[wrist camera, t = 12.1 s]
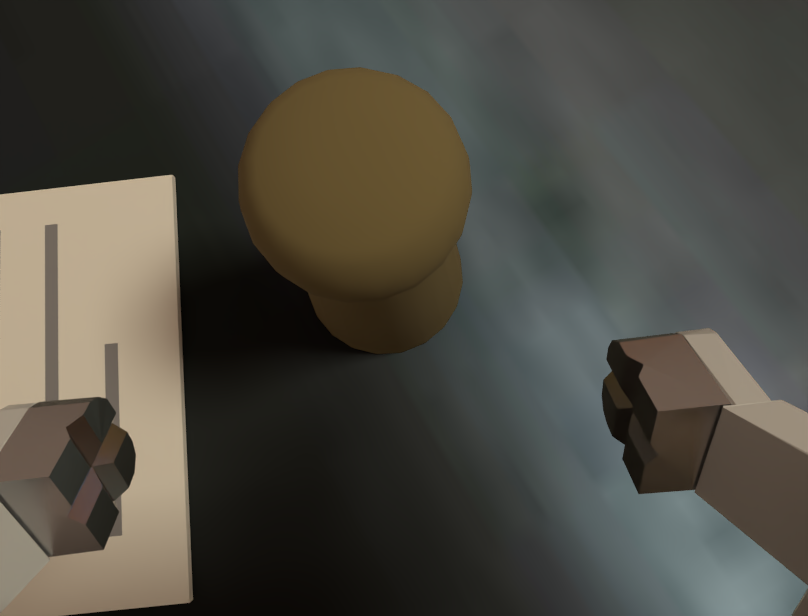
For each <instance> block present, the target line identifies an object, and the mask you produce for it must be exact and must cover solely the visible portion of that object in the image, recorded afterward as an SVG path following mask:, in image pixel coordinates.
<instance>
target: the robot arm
mask: <svg viewBox="0 0 808 616" xmlns="http://www.w3.org/2000/svg"><path fill="white" fill-rule="evenodd" d="M607 361H608V363H609V365H610V367H611V369H612V372H611V373H610V374H609V375H608V376H607V377H606V378H605V379H604V380H603V389H602V401H603V411H604V415H605V418H606V422H607V425H608V427H609V429H610V432H611V434H612V436H613V437H614V438H616V439H617V440H619V441H620V442H622V443H623V444H625V448H624V454H623V461H624V463H625V465H626V467H627V470H628V472H629V474H630V476H631V478H632V480H633V483H634V485H635V487H636V489H637V491H638V494H645V493H658V492H671V491H684V490H695V493H696V494H697V495H699V496H700V497H701V498H702V499H703V500H705V501H706V502H707V503H708V504H710V505H711V506H712V507H713V508H714V509H716V510H717V511H718V512H719V513H720V514H722V515H723V516H724V517H725V518H727V519H728V520H729V521H730V522H731V523H733V524H734V525H735V526H736V527H738V528H739V529H740V530H741V531H742V532H744V533H745V534H746V535H747V536H748V537H750V538H751V539H752V540H753V541H755V542H756V543H757V544H758V545H759V546H761V547H762V548H763V549H764V550H766V551H767V552H768V553H769V554H770V555H772V556H773V557H774V558H775V559H777V560H778V561H779V562H780V563H781V564H783V565H784V566H785V567H786V568H787V569H789V570H790V571H791V572H792V573H794V574H795V575H796V576H797V577H798V578H800V579H801V580H802V581H803V582H805V583H806V584H807V585H808V413H807V412H805V411H803V410H801V409H799V408H797V407H795V406H793V405H791V404H789V403H787V402H785V401H783V400H777V401H771V400H770V399H769V397H768V396H767V395H766V394H765V392H764V391H763V390H762V389H761V387H760V386H759V385H758V384H757V382H756V381H755V380H754V379H753V377H752V376H751V375H750V374H749V373H748V371H747V370H746V369H745V368H744V366H743V365H742V364H741V363H740V361H739V360H738V359H737V358H736V356H735V355H734V354H733V353H732V351H731V350H730V349H729V348H728V346H727V345H726V344H725V343H724V341H723V340H722V339H721V338H720V336H719V335H718V334H717V333H716V332H715V331H713V330H711V329H709V328H706V329H698V330H690V331H683V332H676V333H670V334H662V335H653V336H645V337H636V338H627V339H619V340H612V342H611V343H610V345H609V347H608V353H607ZM115 415H116V412H115V410H114V408H113V407H112V405H111V404H110V402H109V401H108V399H106V398H101V397H90V398H78V399H66V400H55V401H43V402H38V403H28V404H15V405H8V406H6V407H4V408H2V409H0V613H1V612H2V611H3V610H4V609H5V608H6V607H7V606H8V605H9V604H10V602H11V601H12V600H13V599H14V598H15V597H16V596H17V595H18V594H19V593H20V592H21V591H22V590H23V589H24V588H25V586H26V585H27V584H28V583H29V582H30V581H31V580H32V579H33V578H34V577H35V576H36V575H37V574H38V573H39V571H40V570H41V569H42V568H43V567H44V566H45V565H46V564H47V563H48V562H49V561H50V558H49V557H54V556H61V555H69V554H76V553H84V552H91V551H99V550H104V548H105V546H106V543H107V541H108V538H109V536H110V533H111V531H112V529H113V526H114V524H115V521H116V519H117V516H118V514H119V510H118V508H117V505H116V503H115V500H116V499H117V498H118V497H119V496H121V495H122V494H123V493H124V492H125V491H126V490H127V489H128V488H129V486H130V484H131V481H132V478H133V476H134V473H135V461H136V453H135V449H134V445H133V441H132V439H131V438H130V436H129V434H128V432H127V431H125V430H124V429H122V428H120V427H118V426H117V425H115V424H113V420H114V418H115ZM792 616H808V589H807V590H806V592H805V594H804V595H803V597H802V599H801V600H800V602H799V603H798V605H797V607H796V608H795V610H794V612H793V614H792Z"/></svg>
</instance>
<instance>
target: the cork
mask: <svg viewBox="0 0 808 616" xmlns="http://www.w3.org/2000/svg"><path fill="white" fill-rule="evenodd" d="M238 180H239V203H240V208H241V212H242V214H243V217H244V220H245V223H246V225H247V228H248V231H249V233H250V236H251V239H252V242H253V244H254V245H255V246H256V247H257V249H258V250H259V251H260V252H261V254H262V255H263V256H264V257H265V258H266V260H267V261H268V262H269V263H270V265H271V266H272V267H273V268H274V269H275V271H277V272H278V273H279V274H280V275H282V276H283V277H284V278H286V279H288V280H289V281H291V282H293V283H294V284H296V285H297V286H299V287H301V288H302V289H304V290H305V291H307V292H308V294H309V297H310V299H311V302H312V305H313V307H314V310H315V313H316V315H317V317H318V318H319V319H320V321H321V322H322V323H323V324H324V326H325V327H326V328H327V329H328V330H329V332H330V333H331V334H332V335H333V336H335V337H336V338H338V339H339V340H341V341H342V342H344V343H346V344H347V345H349V346H350V347H352V348H354V349H358V350H362V351H367V352H371V353H375V354H386V353H400V352H404V351H406V350H409V349H411V348H414V347H416V346H419V345H421V344H424V343H426V342H427V341H428V340H429V339H430V338H432V337H433V336H434V335H435V334H436V333H438V332H439V331H440V330H441V329H442V328H443V327H444V326H445V325H446V323H447V321H448V320H449V318H450V317H451V315H452V313H453V312H454V310H455V309H456V307H457V304H458V300H459V296H460V291H461V287H462V283H463V281H462V270H461V259H460V255H459V252H458V248H457V245H456V243H457V241H458V240H459V238H460V237H461V235H462V232H463V228H464V224H465V220H466V216H467V212H468V208H469V203H470V199H471V195H472V186H471V175H470V164H469V157H468V154H467V152H466V150H465V147H464V145H463V143H462V141H461V139H460V136H459V134H458V132H457V130H456V127H455V125H454V123H453V121H452V119H451V117H450V116H449V115H448V114H447V112H446V111H445V110H444V109H443V108H442V107H441V106H440V105H439V104H438V103H437V102H436V101H435V100H434V98H433V97H432V96H431V95H430V94H429V93H428V92H427V91H425V90H423V89H421V88H419V87H418V86H416V85H414V84H412V83H410V82H409V81H407V80H405V79H403V78H401V77H400V76H398V75H394V74H389V73H384V72H380V71H375V70H370V69H365V68H360V67H359V68H347V69H335V70H327V71H324V72H321V73H319V74H316V75H314V76H311V77H309V78H306V79H303V80H301V81H298V82H296V83H295V84H294V85H293V86H291V87H290V88H289V89H287V90H286V91H285V92H284V93H282V94H281V95H280V96H278V97H277V98H276V99H275V100H273V101H272V102H271V103H270V104H269V105H268V106H267V108H266V109H265V111H264V112H263V113H262V115H261V116H260V118H259V119H258V121H257V122H256V123H255V125H254V126H253V128H252V129H251V131H250V132H249V133H248V136H247V140H246V143H245V146H244V149H243V153H242V156H241V159H240V162H239V165H238Z"/></svg>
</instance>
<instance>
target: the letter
mask: <svg viewBox="0 0 808 616" xmlns="http://www.w3.org/2000/svg"><path fill="white" fill-rule="evenodd" d="M90 397H101V398H106V399H108V401H109V402H110V404H111V405H112V407H113V408H114V410H115V412H116V415H115V418H114V420H113V424H115V425H117V426H118V427H120V428H122V429H124V430H125V431H127V432H128V434H129V436H130V438H131V439H132V441H133V445H134V449H135V453H136V461H135V473H134V476H133V478H132V481H131V484H130V486H129V488H128V489H127V490H126V491H125V492H124V493H123V494H122V495H121V496H119V497H118V498H117V499H116V500H115V503H116V505H117V508H118V510H119V514H118V516H117V519H116V521H115V524H114V526H113V529H112V531H111V533H110V536H109V538H108V541H107V543H106V546H105V548H104V550H99V551H91V552H84V553H76V554H69V555H61V556H54V557H49V558H50V561H49V562H48V563H47V564H46V565H45V566H44V567H43V568H42V569H41V570H40V571H39V573H38V574H37V575H36V576H35V577H34V578H33V579H32V580H31V581H30V582H29V583H28V584H27V585H26V586H25V588H24V589H23V590H22V591H21V592H20V593H19V594H18V595H17V596H16V597H15V598H14V599H13V600H12V601H11V602H10V604H9V605H8V606H7V607H6V608H5V609H4V610H3V611H2V612H1V613H0V616H64V615H74V614H83V613H93V612H103V611H113V610H123V609H133V608H143V607H152V606H162V605H172V604H182V603H190V602H191V601H192V600H193V588H192V564H191V540H190V517H189V493H188V469H187V445H186V421H185V397H184V373H183V350H182V326H181V302H180V278H179V254H178V230H177V206H176V183H175V177H174V176H173V175H166V176H158V177H149V178H140V179H132V180H123V181H114V182H106V183H97V184H88V185H80V186H71V187H62V188H54V189H45V190H36V191H28V192H19V193H10V194H2V195H0V409H2V408H4V407H6V406H8V405H15V404H28V403H38V402H43V401H55V400H66V399H78V398H90Z"/></svg>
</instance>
